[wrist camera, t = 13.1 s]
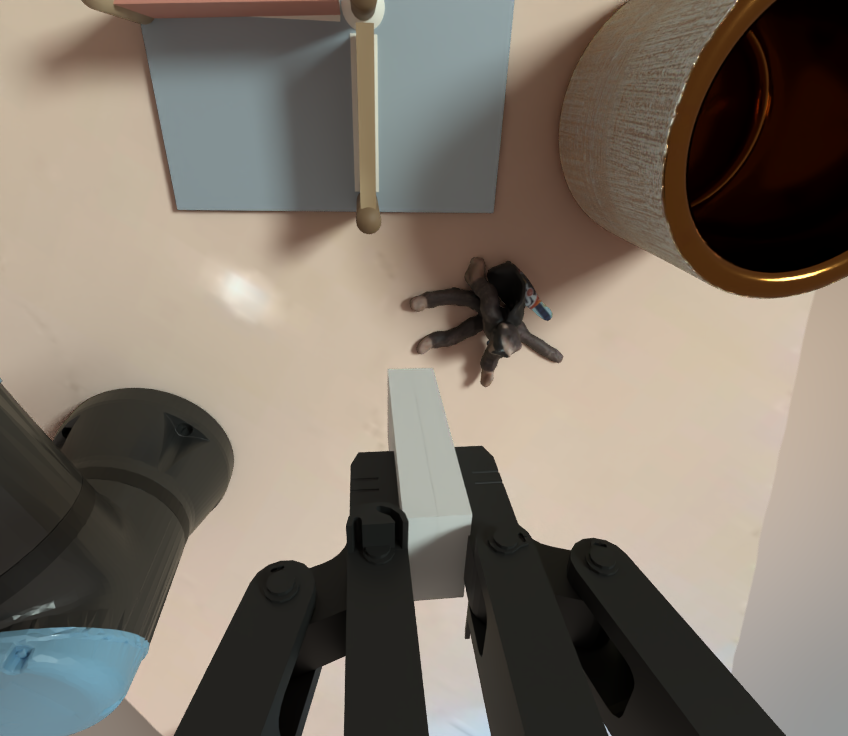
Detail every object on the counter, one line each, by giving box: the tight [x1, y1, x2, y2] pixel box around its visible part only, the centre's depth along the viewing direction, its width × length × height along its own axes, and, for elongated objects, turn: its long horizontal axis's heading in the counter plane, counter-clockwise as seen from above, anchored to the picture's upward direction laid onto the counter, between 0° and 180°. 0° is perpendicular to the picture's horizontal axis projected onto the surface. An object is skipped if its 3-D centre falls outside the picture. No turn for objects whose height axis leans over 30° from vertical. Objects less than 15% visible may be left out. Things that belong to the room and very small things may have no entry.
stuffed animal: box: [410, 258, 563, 387], centre depth 45 cm, size 12×10×12 cm
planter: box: [559, 0, 848, 299], centre depth 32 cm, size 18×18×16 cm
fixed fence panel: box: [350, 0, 381, 234], centre depth 33 cm, size 2×14×8 cm, turn 178°
